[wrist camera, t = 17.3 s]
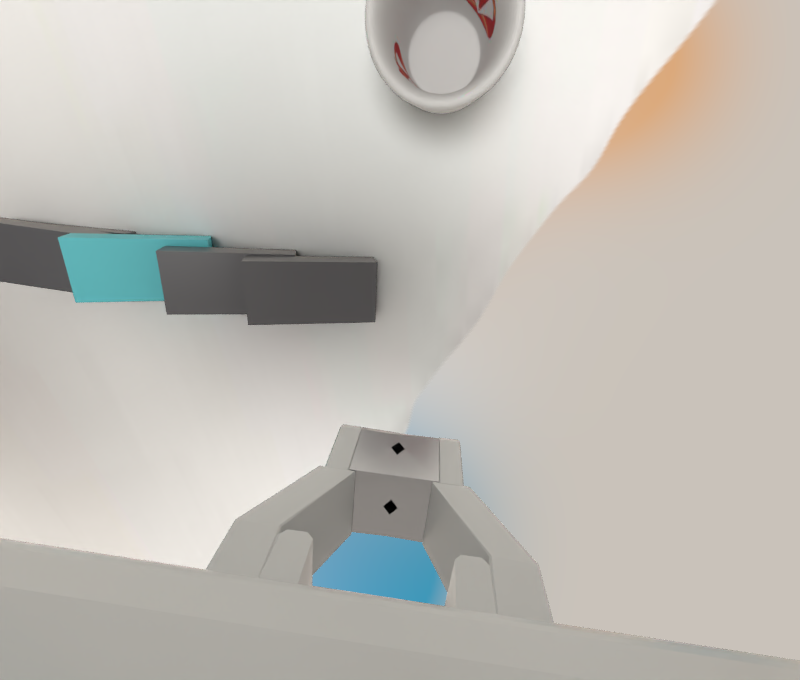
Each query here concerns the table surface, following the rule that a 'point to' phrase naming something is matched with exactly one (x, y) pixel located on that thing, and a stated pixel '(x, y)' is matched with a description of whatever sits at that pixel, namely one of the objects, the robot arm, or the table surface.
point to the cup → (442, 47)
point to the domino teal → (118, 264)
